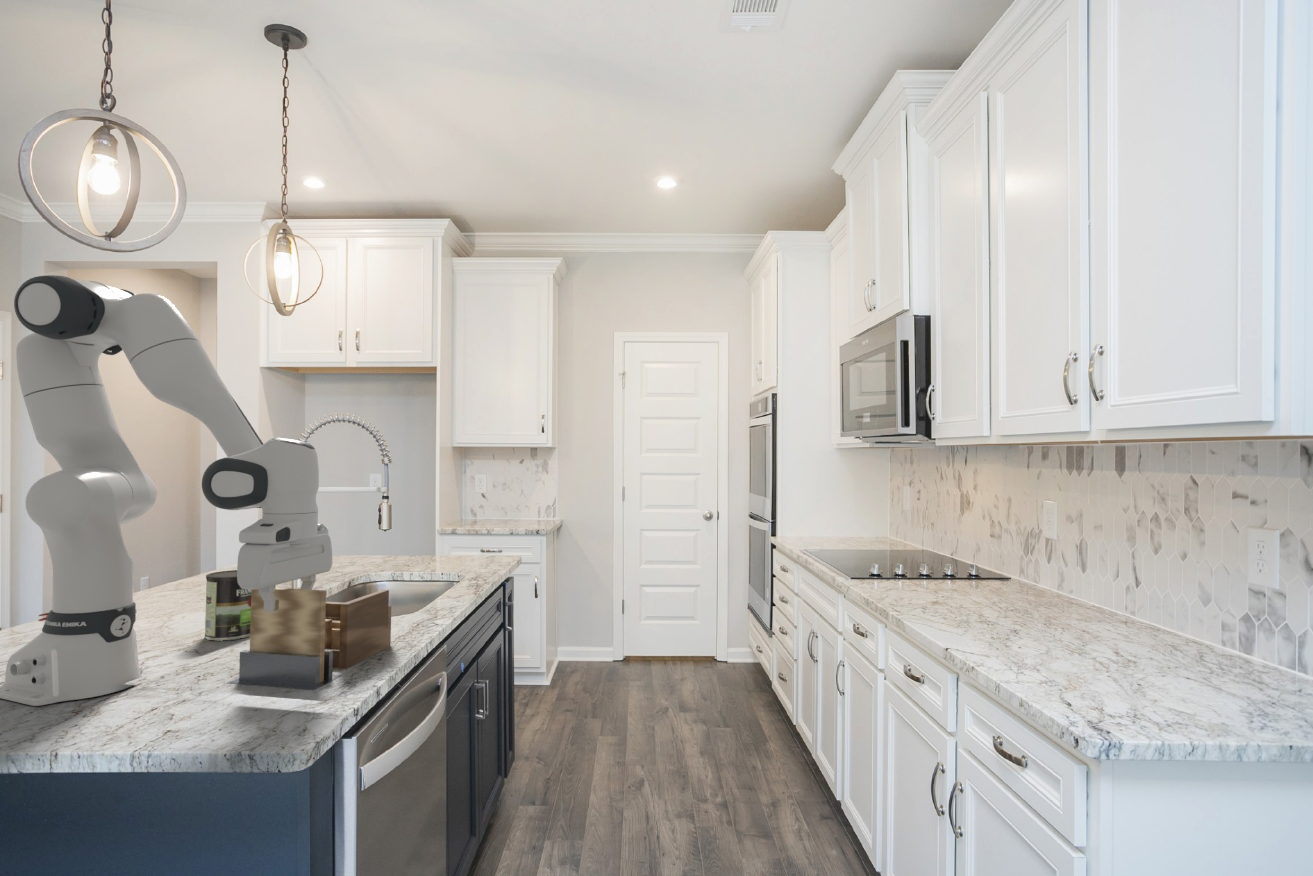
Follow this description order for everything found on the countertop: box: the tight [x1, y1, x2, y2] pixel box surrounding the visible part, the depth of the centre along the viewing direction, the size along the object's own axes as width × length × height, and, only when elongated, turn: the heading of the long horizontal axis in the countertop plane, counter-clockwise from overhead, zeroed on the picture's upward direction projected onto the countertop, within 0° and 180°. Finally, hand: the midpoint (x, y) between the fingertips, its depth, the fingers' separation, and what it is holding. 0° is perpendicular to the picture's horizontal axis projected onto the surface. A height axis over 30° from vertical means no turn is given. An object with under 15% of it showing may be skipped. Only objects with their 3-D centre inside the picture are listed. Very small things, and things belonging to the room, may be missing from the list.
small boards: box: [325, 619, 340, 649], centre depth 134 cm, size 14×4×8 cm, turn 80°
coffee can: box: [204, 569, 251, 642], centre depth 155 cm, size 10×10×14 cm
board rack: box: [294, 586, 392, 670], centre depth 137 cm, size 20×16×14 cm
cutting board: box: [249, 587, 327, 683], centre depth 121 cm, size 14×1×16 cm, turn 81°
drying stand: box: [227, 649, 344, 691], centre depth 121 cm, size 17×8×6 cm, turn 80°
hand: (287, 605), depth 121 cm, fingers open, 7 cm apart
